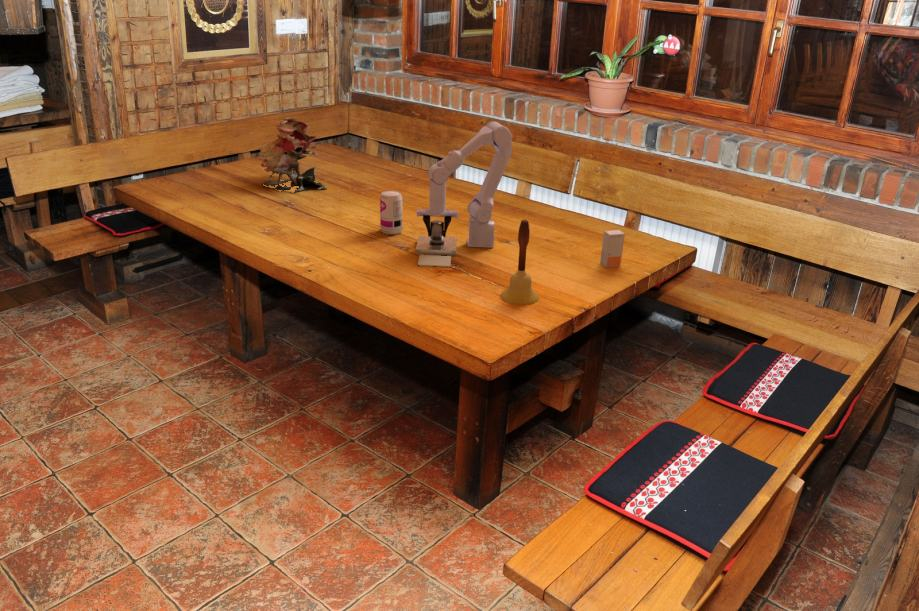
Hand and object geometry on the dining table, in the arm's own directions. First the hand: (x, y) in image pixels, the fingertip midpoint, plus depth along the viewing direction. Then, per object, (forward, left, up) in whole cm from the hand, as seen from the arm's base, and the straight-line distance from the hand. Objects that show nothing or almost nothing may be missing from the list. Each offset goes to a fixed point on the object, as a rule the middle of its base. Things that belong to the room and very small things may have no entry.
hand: (436, 235), depth 276 cm
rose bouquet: (+68, -71, -5) cm, 99 cm away
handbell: (-28, +40, -5) cm, 49 cm away
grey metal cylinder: (0, 0, -3) cm, 3 cm away
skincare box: (-61, +10, -5) cm, 62 cm away
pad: (0, +13, -5) cm, 14 cm away
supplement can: (+18, -16, -5) cm, 24 cm away
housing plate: (0, 0, -5) cm, 5 cm away
